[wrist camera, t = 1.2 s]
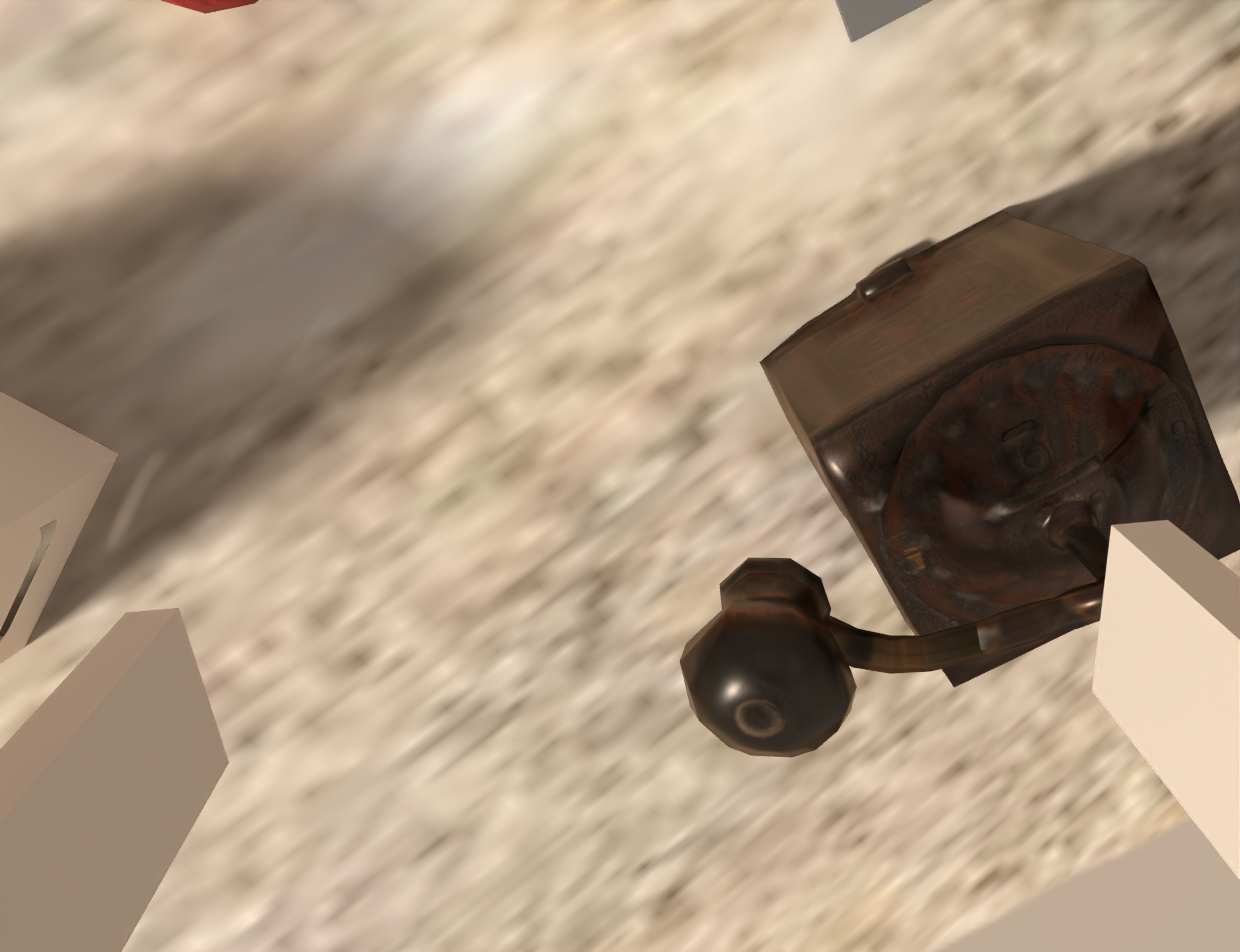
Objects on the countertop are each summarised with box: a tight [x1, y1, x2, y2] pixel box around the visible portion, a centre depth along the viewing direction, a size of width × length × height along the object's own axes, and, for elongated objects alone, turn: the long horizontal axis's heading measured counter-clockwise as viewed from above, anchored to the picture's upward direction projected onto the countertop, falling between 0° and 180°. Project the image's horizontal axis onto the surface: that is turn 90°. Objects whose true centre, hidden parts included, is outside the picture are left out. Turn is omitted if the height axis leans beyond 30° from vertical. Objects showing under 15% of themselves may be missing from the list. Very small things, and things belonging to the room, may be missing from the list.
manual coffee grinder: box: [680, 211, 1240, 757], centre depth 28 cm, size 16×11×18 cm
